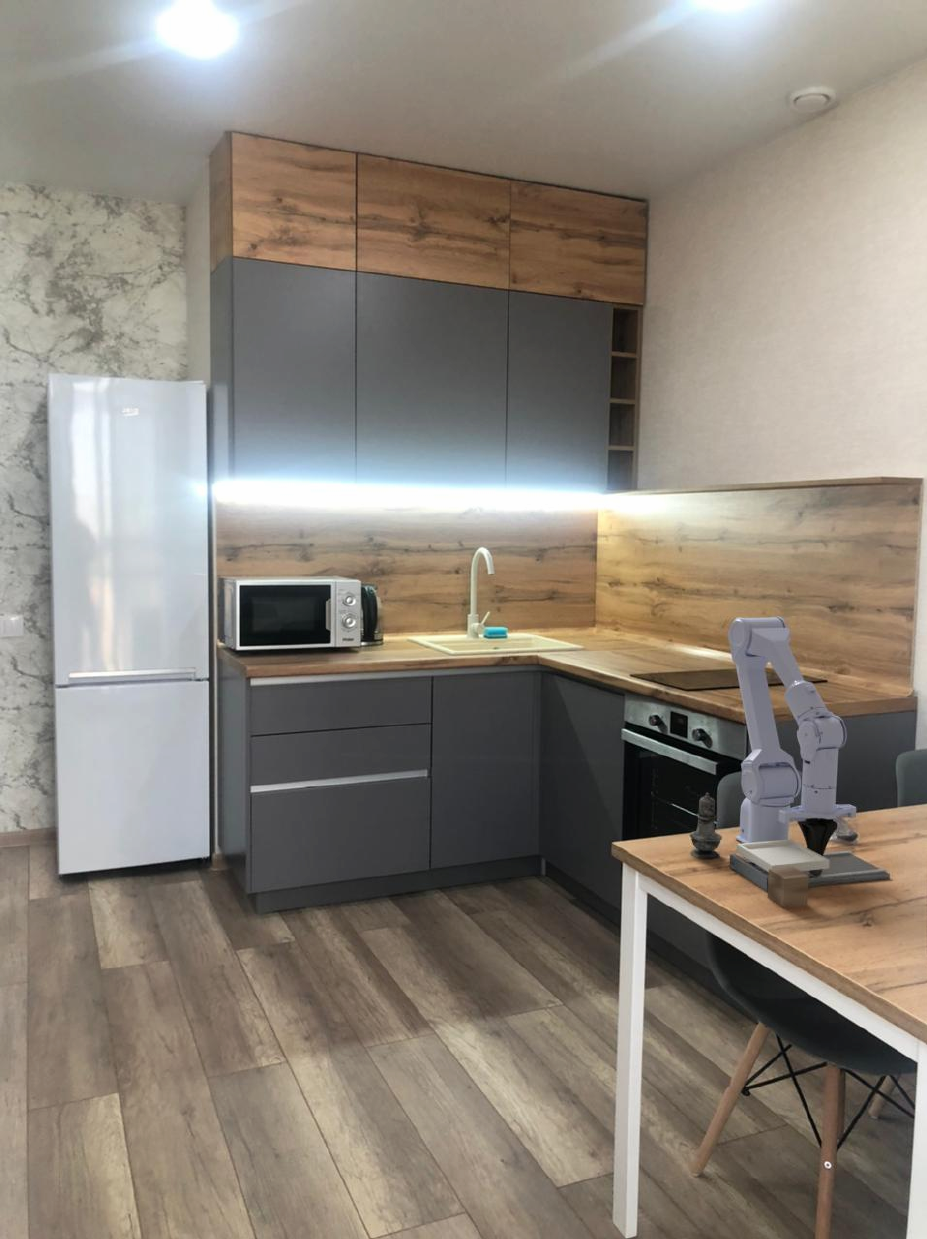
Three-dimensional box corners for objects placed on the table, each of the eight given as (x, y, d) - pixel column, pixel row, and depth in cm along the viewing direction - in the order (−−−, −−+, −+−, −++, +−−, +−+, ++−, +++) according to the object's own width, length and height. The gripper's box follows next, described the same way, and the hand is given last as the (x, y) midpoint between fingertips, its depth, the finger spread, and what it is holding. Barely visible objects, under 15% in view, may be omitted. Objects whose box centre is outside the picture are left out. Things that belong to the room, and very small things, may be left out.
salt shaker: (698, 861, 184) (701, 797, 182) (683, 850, 189) (685, 788, 188) (727, 858, 185) (729, 795, 184) (711, 848, 191) (713, 786, 189)
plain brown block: (767, 898, 167) (768, 869, 166) (791, 895, 168) (792, 866, 167) (783, 908, 162) (784, 878, 162) (807, 905, 164) (808, 876, 163)
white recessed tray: (736, 859, 180) (737, 844, 180) (790, 854, 183) (791, 839, 183) (771, 881, 170) (772, 865, 169) (828, 875, 173) (829, 860, 172)
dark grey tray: (729, 867, 181) (729, 854, 180) (846, 855, 187) (847, 843, 187) (766, 891, 169) (767, 878, 169) (889, 878, 176) (890, 865, 176)
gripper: (796, 793, 171) (792, 870, 173) (869, 787, 175) (864, 863, 176) (773, 782, 178) (769, 856, 179) (843, 777, 182) (839, 849, 183)
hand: (815, 859), depth 178 cm, fingers closed
